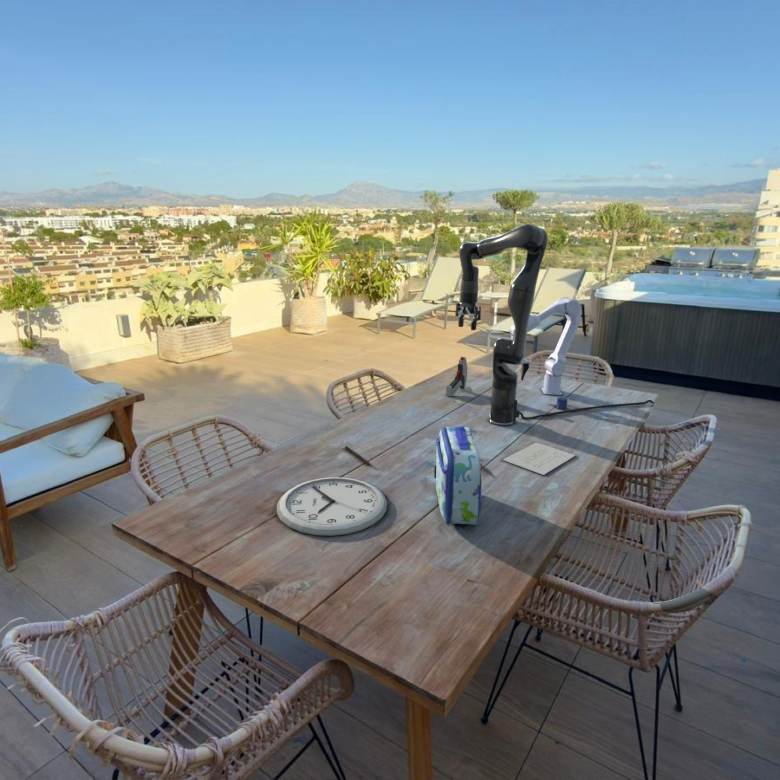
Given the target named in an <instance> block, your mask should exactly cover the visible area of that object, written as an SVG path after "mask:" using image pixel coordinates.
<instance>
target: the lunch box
mask: <svg viewBox="0 0 780 780" xmlns="http://www.w3.org/2000/svg"><path fill="white" fill-rule="evenodd" d="M435 444H436V448H435V449H436V452H435V454H436V456H435V463H436V464H434V474H433V475H434V479H435V491H436V495H437V502H438V508H439V511H440V515H441V517H442V519H443V521H444V523H445V524H446V525H448V526H449V525H454V524H456V525H457V524H459V525H460V524H461V525H470V526H471V525H473V526H474V525H475V526H476V525H477V524H478V523H479V520H480V516H481V515H480V514H481V503H482V469H481V467H480V464H481V463H480V455H479V450H478V448H477V446H476V443H475V441H474V437H473V433H472V430H471V428H470V427H469V426H468V427H465V426H463V425H462V426H461V425H460V426H454V427H453V426H452V427H450V426H449V427H445V426H442V427H440V431H439V432H438V437H437V438H436V440H435Z"/></svg>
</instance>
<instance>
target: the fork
mask: <svg viewBox="0 0 780 780" xmlns="http://www.w3.org/2000/svg"><path fill="white" fill-rule="evenodd" d="M480 467H481V471H483V472H485V473H486V474H488V470H486V468H485V467H484V466H483V464H482V463H480Z"/></svg>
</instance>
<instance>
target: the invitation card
mask: <svg viewBox="0 0 780 780" xmlns="http://www.w3.org/2000/svg"><path fill="white" fill-rule="evenodd" d="M576 456H577V455H576V454H573V453H570V452H567V451H565V450H561V449H558V448H555V447H552V446H549V445H546V444H543V443H539V442H534V443H532V444H529V445H528V446H526V447H524V448H522V449H520V450H518V451H516V452H514V453H512V454H510V455H509V456H507V457H505V458H503V459H502V461H503V462H506V463H509V464H511V465H514V466H518V467H520V468H523V469H525V470H528V471H531V472H534V473H536V474H539V475H541V476H545V475H547V474H548V473H550V472H552V471H554V469H556V468H558V467H559V466H561V465H563V464H564V463H566V462H568V461H570V460H571V459H572V458H574V457H576Z"/></svg>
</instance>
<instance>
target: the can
mask: <svg viewBox="0 0 780 780" xmlns="http://www.w3.org/2000/svg"><path fill="white" fill-rule="evenodd" d="M567 407H568V397H567V398H566V397H563V396H562V397H561V396H560V397H557V399H556V409H559V410H567Z"/></svg>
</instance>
